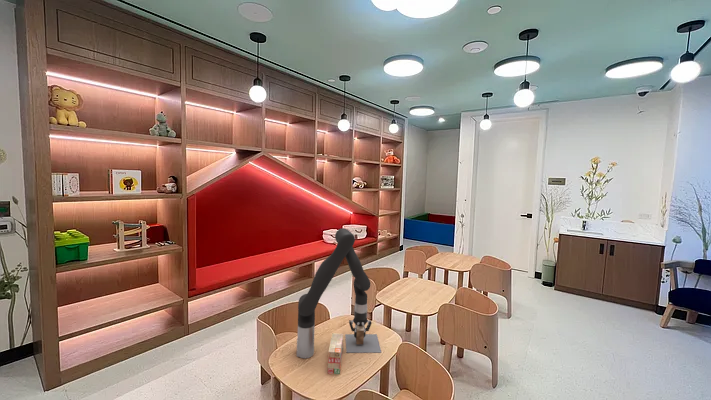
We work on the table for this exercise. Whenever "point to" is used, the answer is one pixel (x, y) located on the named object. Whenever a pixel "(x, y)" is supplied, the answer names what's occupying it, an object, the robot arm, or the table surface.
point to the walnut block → (360, 335)
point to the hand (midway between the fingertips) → (359, 337)
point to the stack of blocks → (335, 354)
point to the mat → (368, 344)
